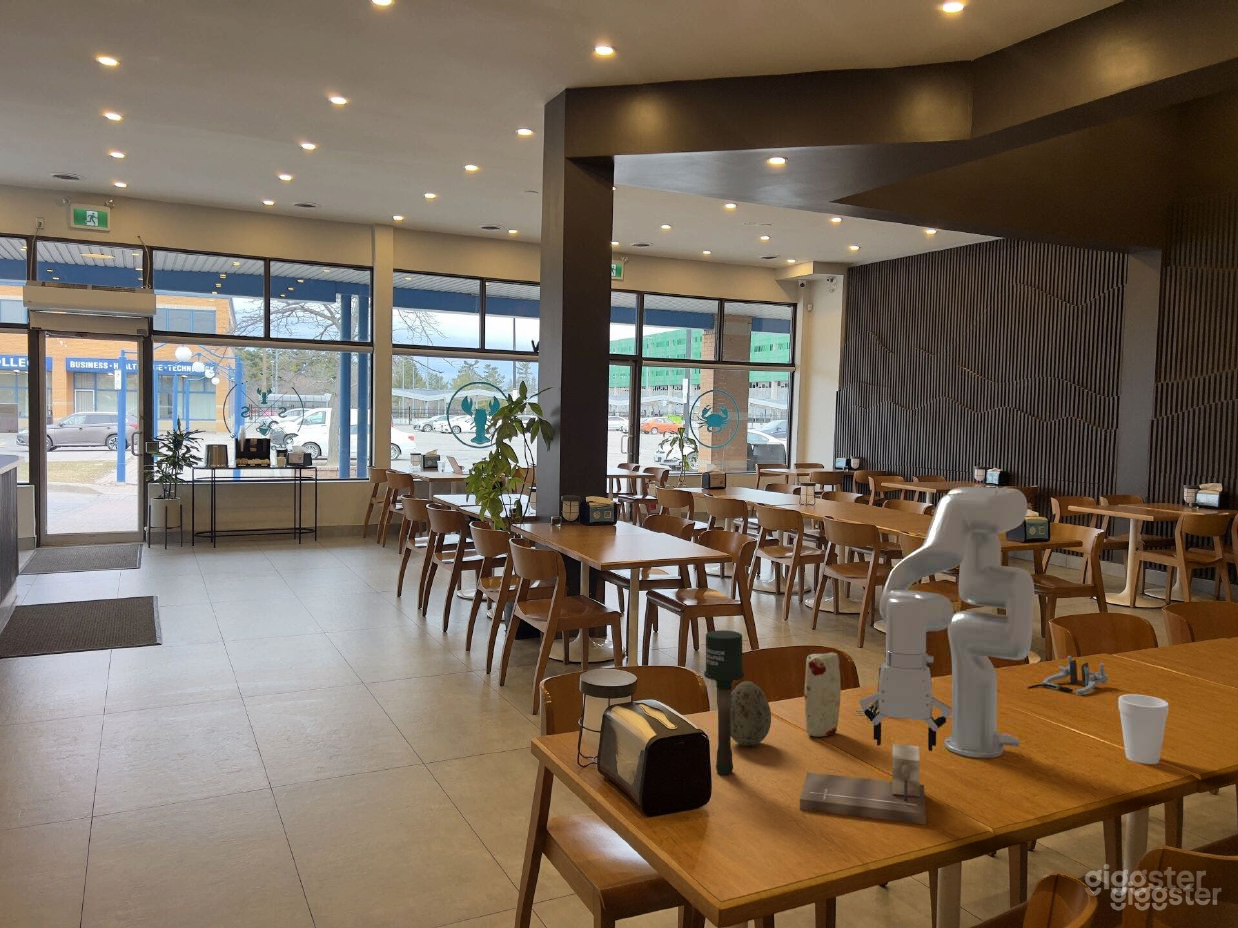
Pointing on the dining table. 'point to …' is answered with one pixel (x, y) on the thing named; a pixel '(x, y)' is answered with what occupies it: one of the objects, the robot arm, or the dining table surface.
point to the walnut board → (860, 798)
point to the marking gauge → (905, 770)
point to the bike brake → (1071, 670)
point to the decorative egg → (749, 714)
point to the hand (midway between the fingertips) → (904, 746)
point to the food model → (822, 694)
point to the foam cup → (1143, 726)
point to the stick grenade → (724, 686)
